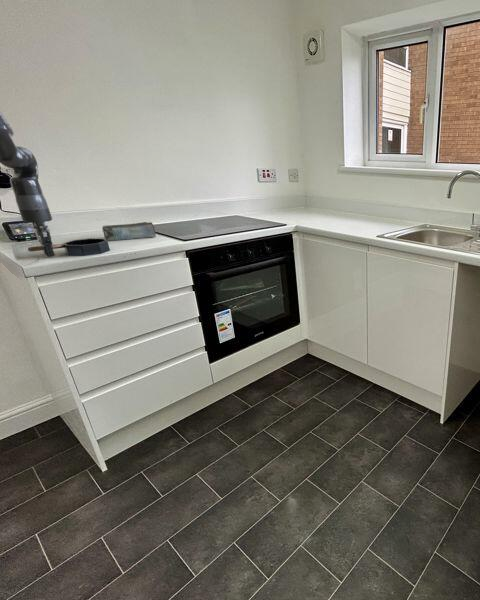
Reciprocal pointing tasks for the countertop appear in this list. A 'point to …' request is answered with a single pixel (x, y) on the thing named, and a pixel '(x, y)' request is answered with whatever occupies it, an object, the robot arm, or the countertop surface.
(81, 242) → the black frying pan
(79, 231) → the countertop surface
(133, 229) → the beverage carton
